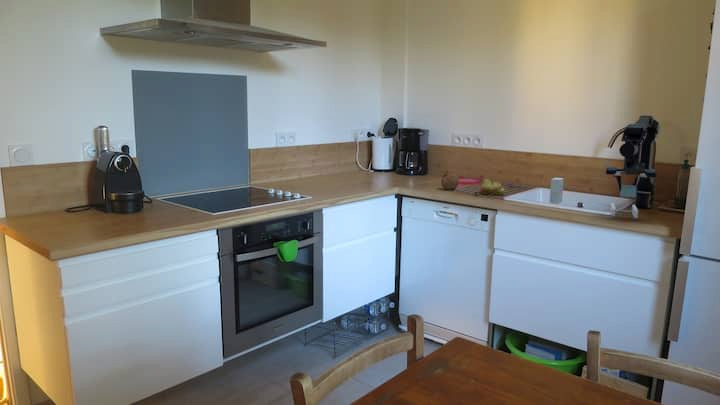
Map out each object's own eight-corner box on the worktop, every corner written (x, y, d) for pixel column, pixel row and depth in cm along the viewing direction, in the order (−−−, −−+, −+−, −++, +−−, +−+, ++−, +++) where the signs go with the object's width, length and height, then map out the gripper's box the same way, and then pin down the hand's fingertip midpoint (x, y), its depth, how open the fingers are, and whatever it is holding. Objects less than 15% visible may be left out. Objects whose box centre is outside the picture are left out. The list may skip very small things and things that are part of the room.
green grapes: (507, 194, 273) (508, 179, 271) (500, 197, 265) (501, 181, 264) (484, 191, 280) (485, 177, 279) (476, 194, 273) (477, 179, 271)
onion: (443, 195, 284) (435, 179, 282) (448, 188, 292) (441, 172, 289) (458, 191, 279) (451, 174, 276) (463, 184, 286) (456, 167, 284)
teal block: (620, 193, 223) (621, 184, 222) (634, 194, 221) (635, 185, 220) (620, 196, 217) (621, 187, 217) (635, 197, 215) (636, 188, 214)
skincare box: (553, 201, 256) (555, 177, 254) (562, 202, 254) (564, 178, 251) (548, 203, 252) (551, 178, 249) (557, 204, 249) (560, 179, 247)
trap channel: (610, 209, 239) (611, 202, 238) (634, 211, 235) (635, 204, 235) (611, 216, 225) (612, 209, 225) (637, 218, 222) (638, 211, 221)
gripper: (608, 155, 213) (604, 193, 216) (660, 158, 205) (655, 197, 209) (607, 153, 223) (603, 188, 226) (656, 155, 215) (652, 192, 219)
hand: (627, 191), depth 219 cm, fingers closed on teal block, 5 cm apart
